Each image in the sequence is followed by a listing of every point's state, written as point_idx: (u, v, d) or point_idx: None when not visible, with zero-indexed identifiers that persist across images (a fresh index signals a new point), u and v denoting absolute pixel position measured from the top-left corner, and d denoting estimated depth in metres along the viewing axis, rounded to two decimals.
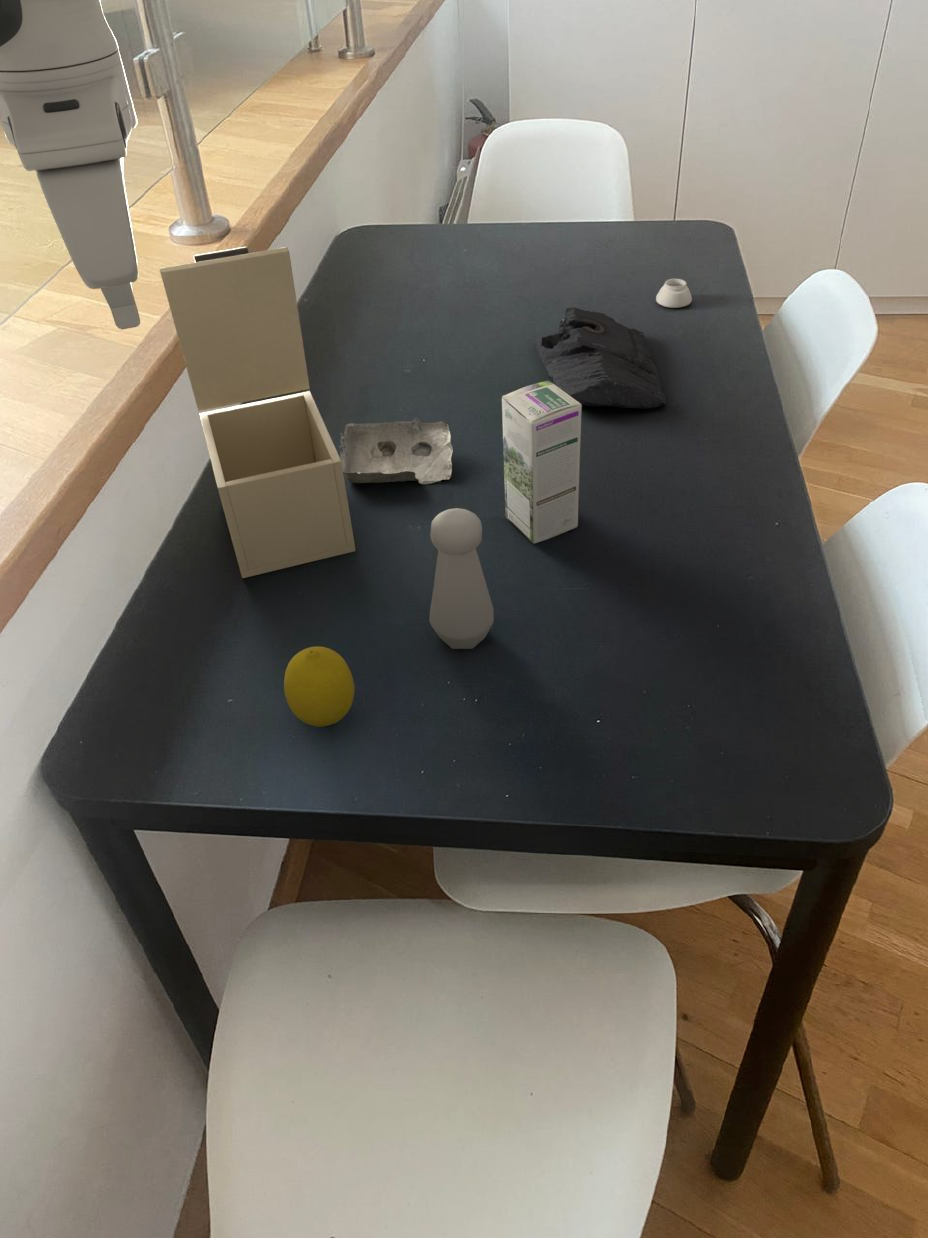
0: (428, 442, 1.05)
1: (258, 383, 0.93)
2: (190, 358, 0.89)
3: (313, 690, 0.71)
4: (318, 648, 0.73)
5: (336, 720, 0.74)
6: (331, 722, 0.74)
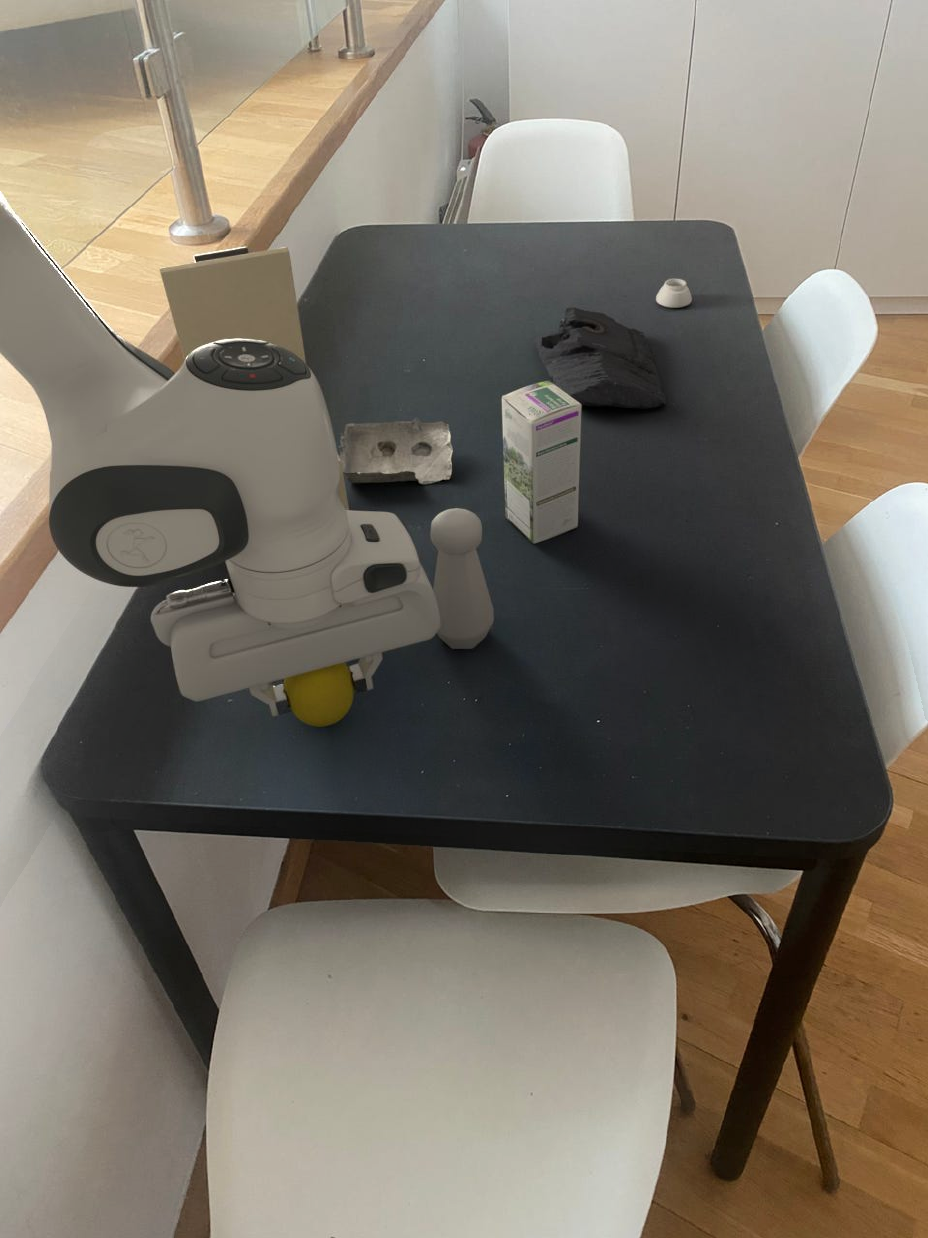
0: (428, 442, 1.05)
1: None
2: None
3: (313, 690, 0.71)
4: None
5: (336, 720, 0.74)
6: (331, 722, 0.74)
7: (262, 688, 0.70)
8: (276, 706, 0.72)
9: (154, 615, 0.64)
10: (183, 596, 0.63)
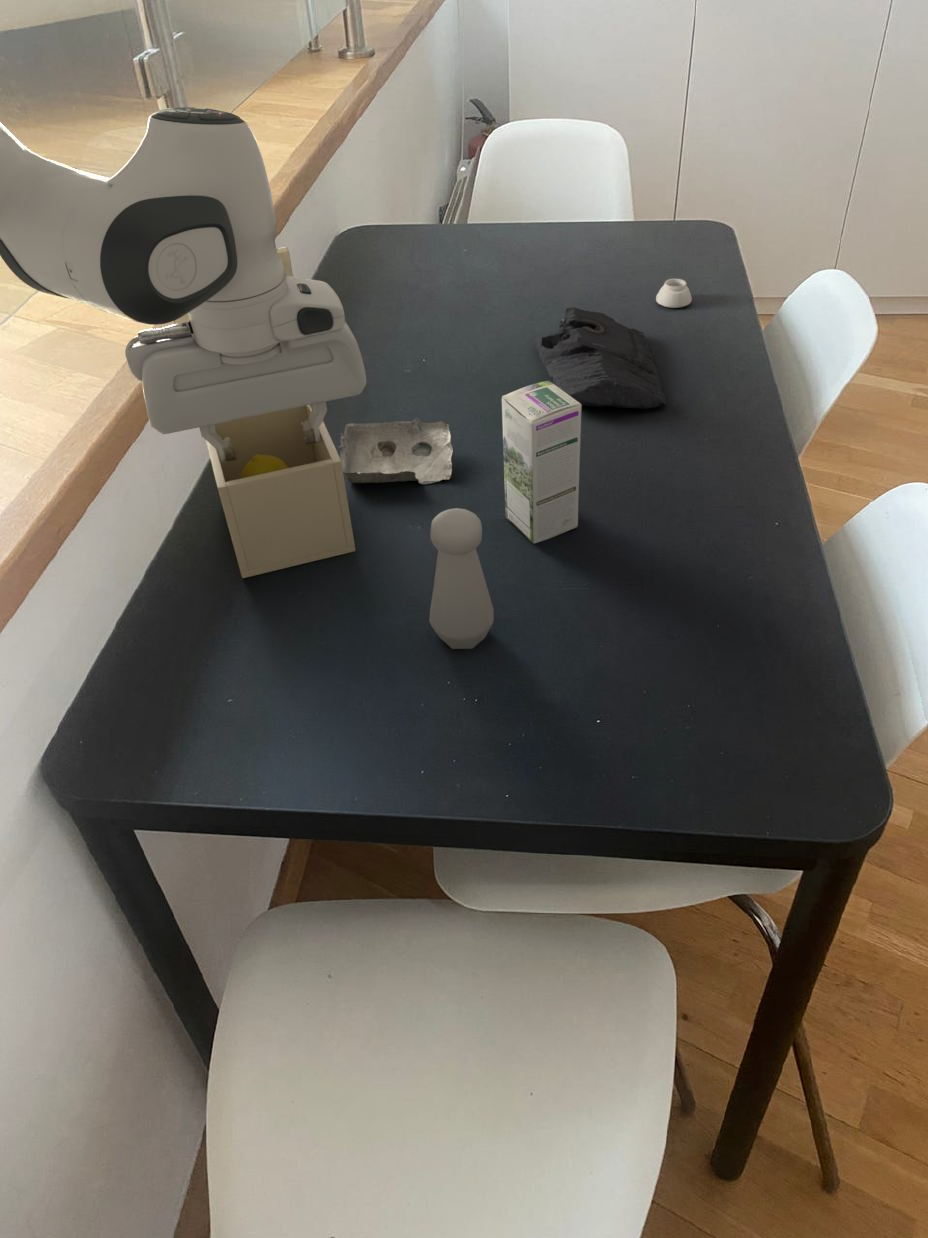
0: (428, 442, 1.05)
1: None
2: None
3: None
4: (263, 455, 0.92)
5: None
6: None
7: (211, 431, 0.85)
8: (223, 452, 0.87)
9: (128, 349, 0.79)
10: (151, 332, 0.78)
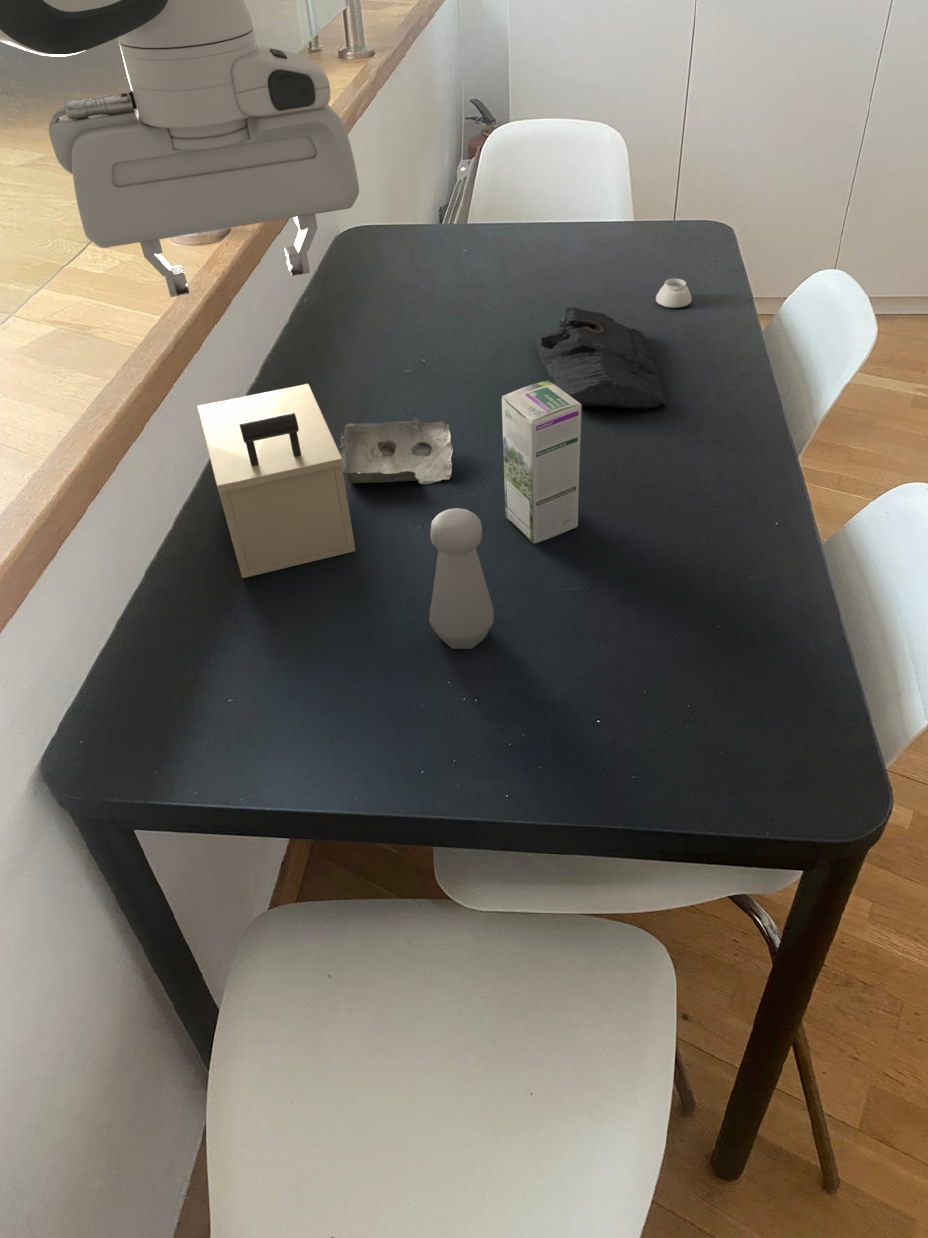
0: (428, 442, 1.05)
1: None
2: None
3: None
4: None
5: None
6: None
7: (156, 250, 0.68)
8: (173, 281, 0.70)
9: (51, 124, 0.61)
10: (81, 102, 0.61)
